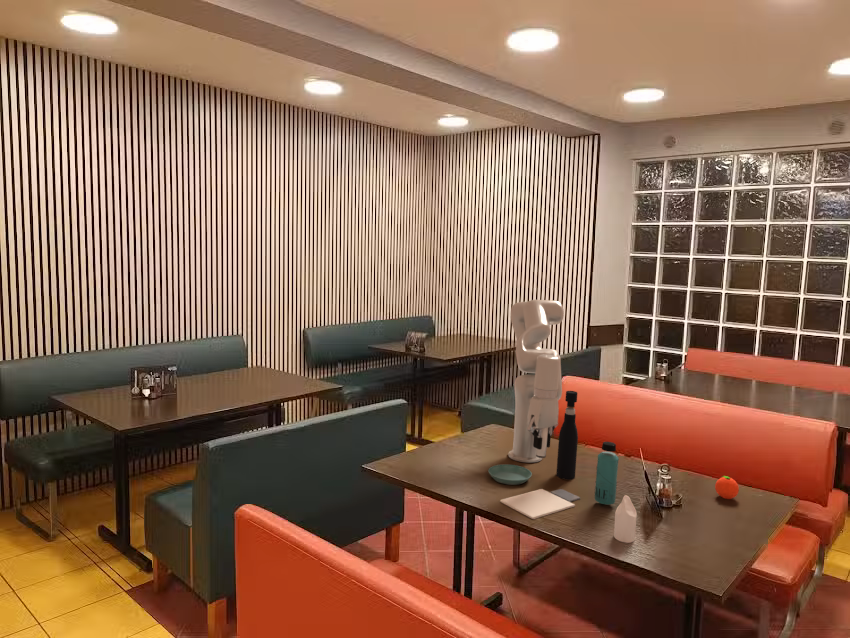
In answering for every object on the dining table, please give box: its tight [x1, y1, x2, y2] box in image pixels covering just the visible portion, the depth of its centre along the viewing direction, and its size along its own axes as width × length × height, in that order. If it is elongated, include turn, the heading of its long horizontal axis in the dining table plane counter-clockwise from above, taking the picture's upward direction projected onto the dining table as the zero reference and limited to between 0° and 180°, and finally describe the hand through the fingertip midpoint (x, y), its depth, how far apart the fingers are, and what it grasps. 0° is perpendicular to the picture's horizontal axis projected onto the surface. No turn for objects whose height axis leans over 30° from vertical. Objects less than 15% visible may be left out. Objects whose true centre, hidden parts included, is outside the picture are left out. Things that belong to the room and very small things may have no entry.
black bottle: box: [556, 390, 579, 481], centre depth 210 cm, size 6×6×30 cm
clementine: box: [714, 475, 740, 500], centre depth 198 cm, size 8×7×7 cm
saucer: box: [488, 463, 533, 486], centre depth 207 cm, size 15×15×3 cm
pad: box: [499, 488, 576, 520], centre depth 187 cm, size 18×14×1 cm
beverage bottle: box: [593, 441, 620, 506], centre depth 187 cm, size 6×7×20 cm
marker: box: [536, 427, 548, 459], centre depth 198 cm, size 3×3×12 cm
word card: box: [550, 488, 581, 503], centre depth 194 cm, size 5×8×1 cm, turn 35°
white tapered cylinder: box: [613, 494, 638, 544], centre depth 166 cm, size 6×12×6 cm
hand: (541, 446), depth 199 cm, fingers closed on marker, 3 cm apart
